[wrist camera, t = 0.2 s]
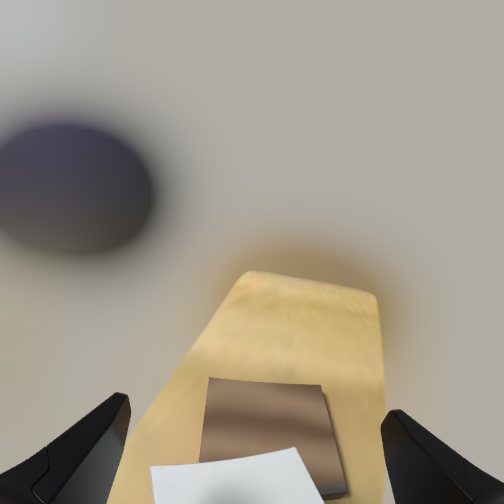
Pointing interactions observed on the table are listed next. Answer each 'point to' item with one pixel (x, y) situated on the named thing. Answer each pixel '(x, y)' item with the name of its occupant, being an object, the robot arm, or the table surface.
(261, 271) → the table surface
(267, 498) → the small box
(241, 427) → the floor panel
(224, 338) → the table surface
